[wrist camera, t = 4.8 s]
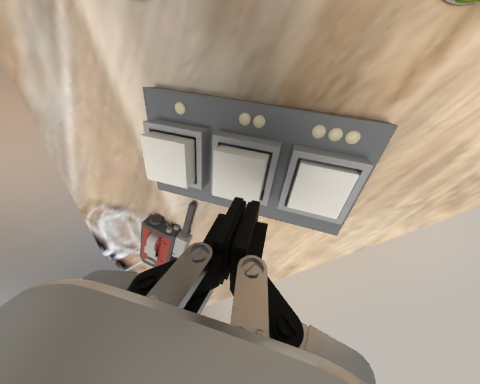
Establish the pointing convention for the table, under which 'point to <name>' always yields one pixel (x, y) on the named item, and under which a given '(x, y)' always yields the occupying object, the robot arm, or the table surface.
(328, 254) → the table surface
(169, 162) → the button
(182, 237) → the walkie-talkie
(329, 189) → the button
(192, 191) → the button panel
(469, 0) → the supplement bottle
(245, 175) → the button
